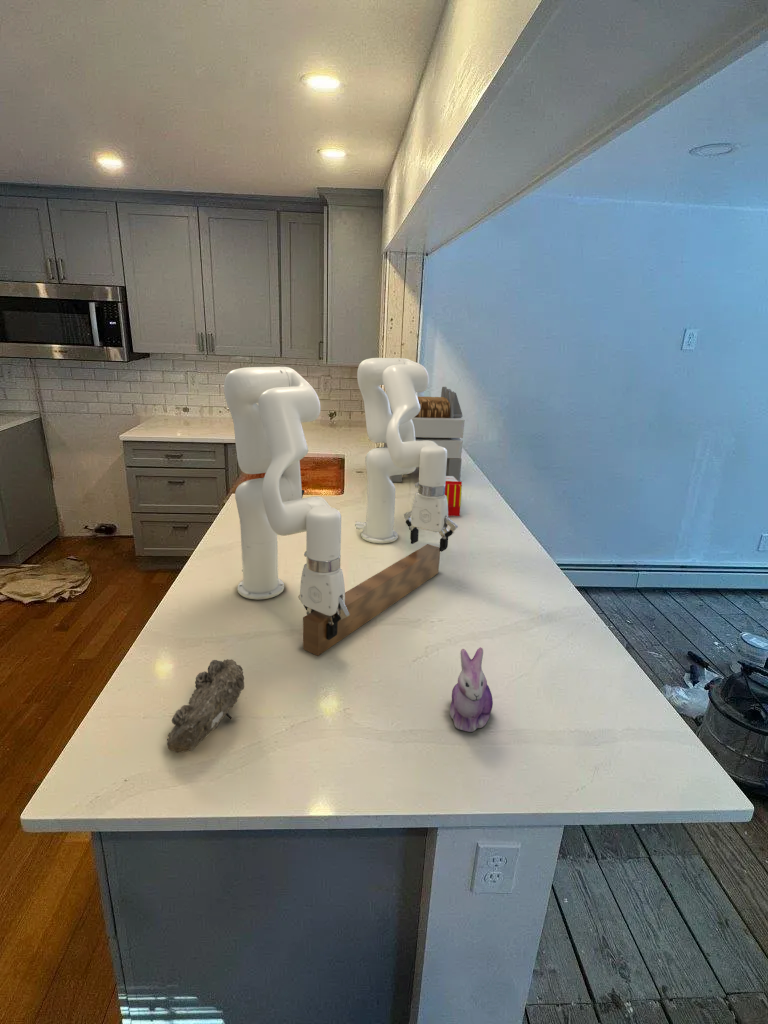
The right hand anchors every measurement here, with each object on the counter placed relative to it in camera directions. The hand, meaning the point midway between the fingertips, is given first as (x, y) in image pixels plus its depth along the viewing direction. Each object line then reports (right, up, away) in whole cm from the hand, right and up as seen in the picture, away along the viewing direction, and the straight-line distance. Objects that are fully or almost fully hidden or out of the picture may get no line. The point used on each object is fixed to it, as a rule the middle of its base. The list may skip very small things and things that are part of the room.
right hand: (428, 546), depth 165 cm
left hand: (-27, -18, -33) cm, 47 cm away
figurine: (+4, -30, -54) cm, 62 cm away
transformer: (+4, +29, +110) cm, 114 cm away
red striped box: (+11, +13, +67) cm, 69 cm away
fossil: (-46, -29, -57) cm, 79 cm away
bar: (-14, -15, -14) cm, 25 cm away
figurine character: (-47, +10, +50) cm, 69 cm away
